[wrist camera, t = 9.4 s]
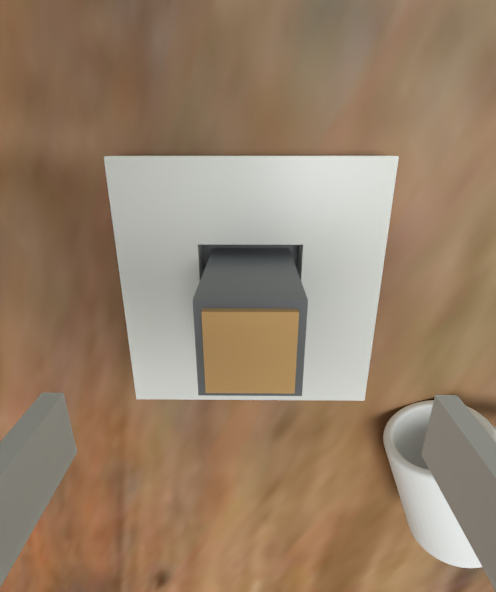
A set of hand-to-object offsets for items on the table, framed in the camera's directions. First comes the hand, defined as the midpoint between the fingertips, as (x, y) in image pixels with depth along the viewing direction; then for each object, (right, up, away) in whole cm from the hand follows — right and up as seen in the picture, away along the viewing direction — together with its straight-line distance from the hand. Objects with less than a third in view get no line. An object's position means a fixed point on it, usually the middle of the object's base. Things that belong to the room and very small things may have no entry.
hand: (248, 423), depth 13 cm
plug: (0, +6, +15) cm, 16 cm away
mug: (+18, -8, +20) cm, 29 cm away
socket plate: (0, +6, +15) cm, 16 cm away
